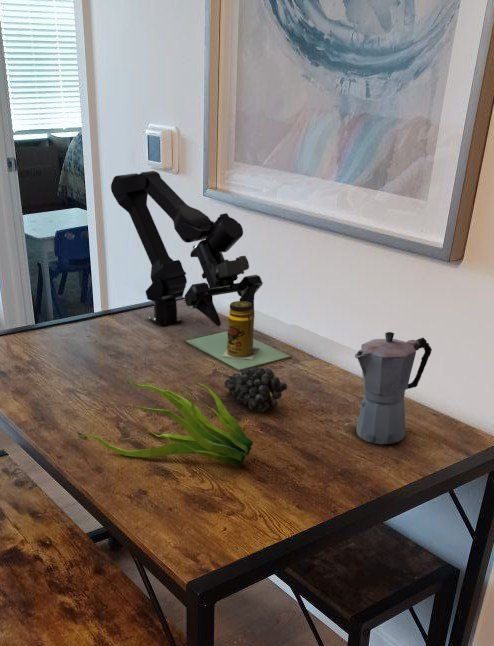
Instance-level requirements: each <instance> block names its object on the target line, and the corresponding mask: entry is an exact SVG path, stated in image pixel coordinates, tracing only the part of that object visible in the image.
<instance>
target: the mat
mask: <svg viewBox="0 0 494 646" xmlns="http://www.w3.org/2000/svg"><path fill="white" fill-rule="evenodd" d="M227 333H228V330H225V331H222V332H217V333H213V334H209V335H205V336H200V337H195V338H191V339H187V340H185V343H188V344H189V345H191V346H192V347H195V348H196V349H198V350H200V351H202V352H204V353H206V354H208V355H209V356H212V357H213V358H215V359H217V360H218V361H220V362H222V363H225V364H226V365H228V366H230V367H232V368H233V369H235V370H237V371H239V372H240V371H242V370H244V369H252V368H254V367H258V366H263V365H266V364H269V363H273V362H277V361H282V360H286V359H289V358H291V355H290V354H287V353H285V352H283V351H281V350H279V349H277V348H276V347H275V348H274V347H272V346H271V345H269V344H267V343H265V342H262V341H260V340H258V339H255V338H254V337H253V347H260V349H259V350H258V351H257V353H256V355H255V356H254V357H253V358H252V360H251V359H240V358H232V357H226V356H222V355H223V354H224V353H225V351H226V350H227V339H228V338H227V336H228V334H227Z"/></svg>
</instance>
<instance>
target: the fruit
mask: <svg viewBox="0 0 494 646" xmlns="http://www.w3.org/2000/svg"><path fill="white" fill-rule="evenodd" d="M224 388H225V389H228V393H229V394H230V395H231V396H234V397H236V401H237V402H238V403H241V404H243V405H244V406H246V407H247V406H248V408H249V410H250V411H253V412H255V411H257V412H259V413H264V412H266V411H267V410H268V409H269V408H270V409H273V410H274V409H276V408H278V406H279V402H278V400H280V399H281V398H282V395H283V394H282V392H284V391H286V390H287V388H288V385H287V383H286V382H284V381H281V379H280V378H279V377H278V376H275V373H274V370H272V369H271V368H264V367H258V366H255V367H252V368H247V369H244V370H241V373H238V372H237V373H233V374H232V376H231V375H229V376H227V377H226V379H225V381H224Z"/></svg>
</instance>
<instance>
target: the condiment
mask: <svg viewBox="0 0 494 646" xmlns="http://www.w3.org/2000/svg"><path fill="white" fill-rule="evenodd" d="M252 309H253V305H252V303H250V302H247V301H240V300H236V301H232V302H231V303H230V304H229V313H228V315H227V331H228V333H227V334H228V336H227V338H228V339H227V350H226V351H225V353H224V354H223V355H222V356H226V357H232V358H240V359H251V360H252V358H253V357H254V356H255V355H256V353H257V351H258V350H259V349H260V347H253V338H254V329H255V315H254V316H253V310H252Z"/></svg>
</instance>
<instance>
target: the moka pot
mask: <svg viewBox="0 0 494 646" xmlns="http://www.w3.org/2000/svg"><path fill="white" fill-rule="evenodd" d="M384 333H385V334H384V337H385V338H374V339H371V340H369V341H366V342H364V343H362V344H361V346H360V348H361V349H359V350H358V351H357V352H356V353H355V354H354V358H355V359H357V360H358V363H359V366H360V368H361V372H362V384H363V397H362V401H361V406H360V410H359V415H358V421H357V424H356V429H355V430H356V434H357V436H358V437H359V438H360V439H361V440H363V441H365V442H368V443H371V444H374V445H392V444H395V443H399V442H400V441H402V440H403V439H404V438H405V436H406V432H407V431H406V429H407V428H406V413H405V412H406V407H405V394H406V390H409V389H414V388H416V387H418V385H419V382H420V380H421V378H422V376H423V375H422V374H423V373H424V370H425V367H426V366H427V363H428V360H429V357H431V354H432V351H433V349H432V347H431V346H430V343H429V342H427V341H428V340H427V339H425V337H420V338H418V339H416V340H415V339H409V340H406V341H404V340H400V339H397V338H394V336H395V333H394V332H393V331H387V332H384ZM420 349H423V350H424V353H423V355H422V356H421V359H420V364H419V367H418V369H417V372H416V375H415V377H414V379H413V380H412V382H410V380H411V379H410V378H411V374H412V372H413V371H412V370H413V367H414V362H415V358H416V355H417V351H419V350H420Z"/></svg>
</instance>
